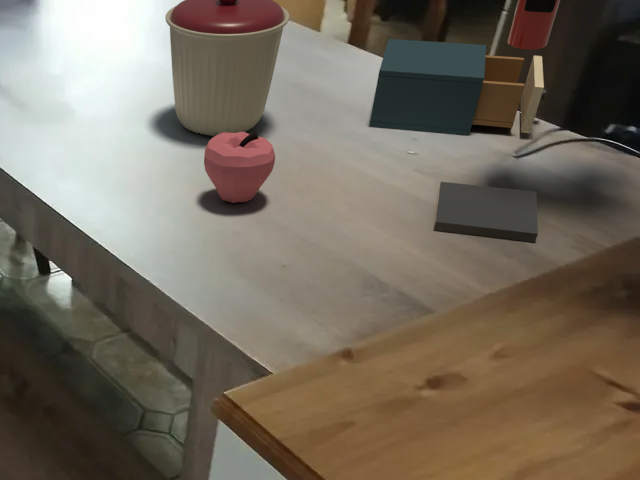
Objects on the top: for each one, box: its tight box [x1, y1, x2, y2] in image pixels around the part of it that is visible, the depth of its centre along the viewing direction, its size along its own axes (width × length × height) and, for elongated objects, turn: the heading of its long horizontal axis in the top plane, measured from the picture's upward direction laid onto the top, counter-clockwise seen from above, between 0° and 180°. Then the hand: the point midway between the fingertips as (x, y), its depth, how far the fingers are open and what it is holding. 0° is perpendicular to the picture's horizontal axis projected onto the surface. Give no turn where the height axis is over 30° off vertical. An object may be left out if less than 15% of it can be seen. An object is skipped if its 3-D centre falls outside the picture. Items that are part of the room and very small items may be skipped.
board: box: [433, 181, 539, 243], centre depth 121 cm, size 12×12×1 cm
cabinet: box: [368, 38, 487, 136], centre depth 144 cm, size 15×15×9 cm
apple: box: [203, 130, 276, 204], centre depth 125 cm, size 10×9×10 cm
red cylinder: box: [506, 0, 561, 50], centre depth 113 cm, size 5×5×10 cm
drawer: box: [472, 54, 547, 134], centre depth 141 cm, size 15×13×7 cm
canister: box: [164, 0, 290, 137], centre depth 141 cm, size 18×18×21 cm
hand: (538, 2), depth 113 cm, fingers closed on red cylinder, 4 cm apart
